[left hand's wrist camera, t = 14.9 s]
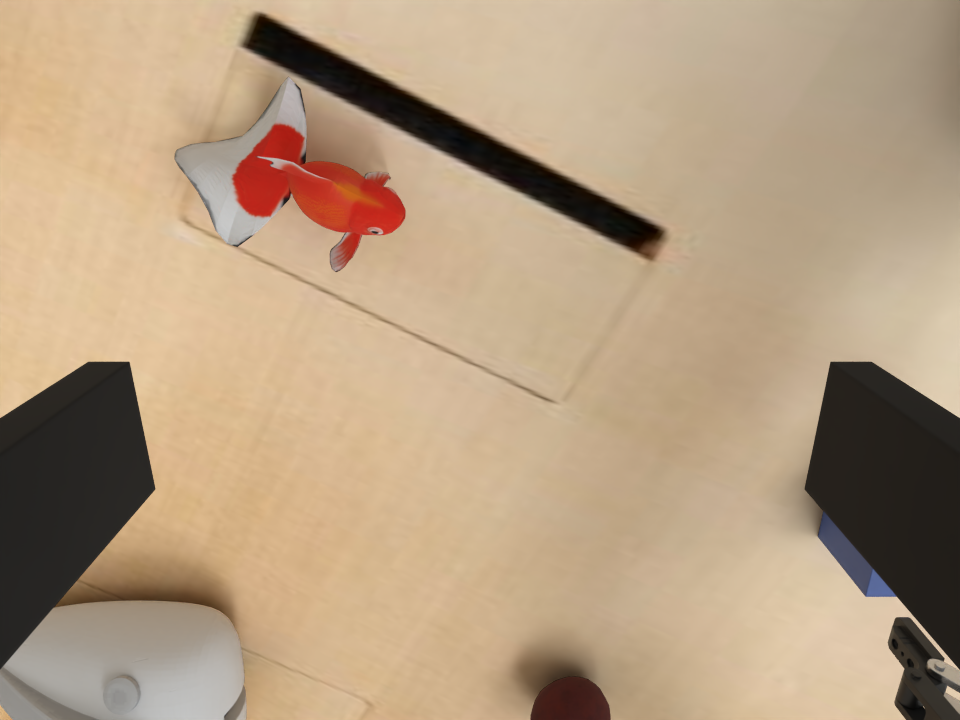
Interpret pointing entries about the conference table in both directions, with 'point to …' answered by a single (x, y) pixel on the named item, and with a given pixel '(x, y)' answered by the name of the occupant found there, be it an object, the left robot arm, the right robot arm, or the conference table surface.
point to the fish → (287, 181)
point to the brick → (852, 560)
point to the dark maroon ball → (571, 701)
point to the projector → (127, 665)
